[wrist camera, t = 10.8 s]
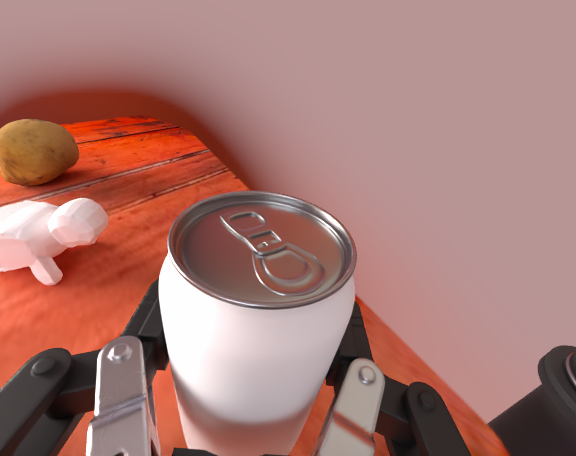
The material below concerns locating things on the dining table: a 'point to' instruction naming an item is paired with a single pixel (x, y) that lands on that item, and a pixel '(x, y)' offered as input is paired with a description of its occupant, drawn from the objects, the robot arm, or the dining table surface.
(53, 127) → the potato
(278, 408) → the can
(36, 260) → the white turtle figurine
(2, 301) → the dining table surface
